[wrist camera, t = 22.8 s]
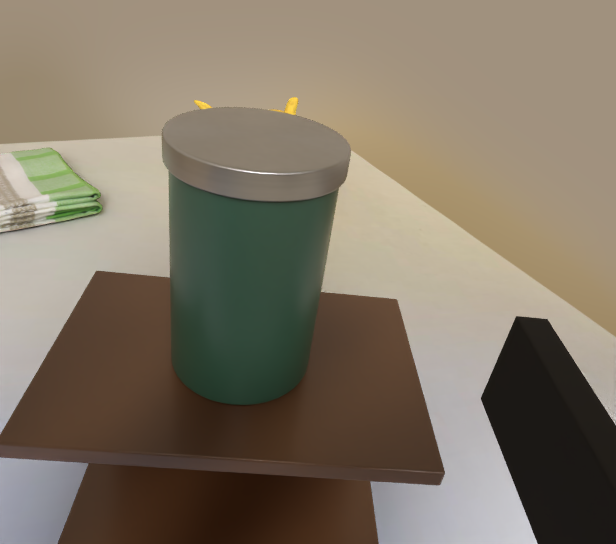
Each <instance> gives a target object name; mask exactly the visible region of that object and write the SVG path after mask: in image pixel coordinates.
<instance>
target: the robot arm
mask: <svg viewBox="0 0 616 544" xmlns="http://www.w3.org/2000/svg"><path fill="white" fill-rule="evenodd" d="M481 400H482V403H483V405H484V408H485V411H486V413H487V416H488V418H489V421H490V423H491V426H492V428H493V431H494V433H495V436H496V439H497V441H498V444H499V446H500V449H501V451H502V454H503V456H504V459H505V461H506V464H507V466H508V469H509V472H510V474H511V477H512V479H513V482H514V484H515V487H516V489H517V492H518V494H519V497H520V500H521V502H522V505H523V507H524V510H525V512H526V515H527V517H528V520H529V522H530V525H531V528H532V530H533V533H534V535H535V538H536V540H537V543H538V544H616V425H615V424H614V422H613V420H612V419H611V417H610V416H609V414H608V413H607V411H606V410H605V408H604V407H603V405H602V403H601V402H600V400H599V399H598V397H597V396H596V394H595V393H594V391H593V389H592V388H591V386H590V385H589V383H588V382H587V380H586V379H585V377H584V376H583V374H582V372H581V371H580V369H579V368H578V366H577V365H576V363H575V362H574V360H573V358H572V357H571V355H570V354H569V352H568V351H567V349H566V348H565V346H564V344H563V343H562V341H561V340H560V338H559V337H558V335H557V334H556V332H555V331H554V329H553V327H552V326H551V324H550V323H549V321H548V320H547V319H539V318H529V317H518V316H516V318H515V321H514V323H513V325H512V327H511V330H510V332H509V334H508V337H507V339H506V341H505V344H504V346H503V348H502V351H501V353H500V355H499V357H498V360H497V362H496V364H495V367H494V369H493V371H492V374H491V376H490V378H489V381H488V383H487V385H486V387H485V390H484V392H483V394H482V397H481Z"/></svg>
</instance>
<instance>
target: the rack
mask: <svg viewBox="0 0 616 544" xmlns="http://www.w3.org/2000/svg"><path fill="white" fill-rule="evenodd" d="M0 457H1V458H17V459H32V460H48V461H64V462H79V463H89V464H88V467H87V469H86V472H85V474H84V477H83V480H82V482H81V485H80V487H79V490H78V492H77V495H76V498H75V500H74V503H73V505H72V508H71V510H70V513H69V516H68V518H67V521H66V523H65V526H64V528H63V531H62V534H61V536H60V539H59V541H58V544H379V543H378V536H377V528H376V521H375V514H374V506H373V499H372V492H371V484H370V481H377V482H392V483H408V484H424V485H440V484H441V481H442V479H443V477H444V474H445V471H444V468H443V464H442V460H441V457H440V453H439V450H438V446H437V442H436V439H435V435H434V431H433V428H432V424H431V421H430V417H429V413H428V410H427V406H426V403H425V399H424V395H423V392H422V388H421V384H420V381H419V377H418V374H417V370H416V366H415V363H414V359H413V356H412V352H411V348H410V345H409V341H408V337H407V334H406V330H405V327H404V323H403V319H402V316H401V312H400V309H399V305H398V301H397V300H396V299H389V298H378V297H368V296H357V295H347V294H336V293H325V292H321V293H320V299H319V305H318V310H317V316H316V322H315V327H314V333H313V339H312V345H311V350H310V356H309V362H308V367H307V370H306V373H305V375H304V377H303V378H302V380H301V381H300V382H299V383H298V385H297V386H295V387H294V388H293V389H292V390H291V391H289V392H288V393H286V394H285V395H283V396H281V397H279V398H277V399H274V400H271V401H268V402H264V403H260V404H253V405H231V404H225V403H220V402H216V401H212V400H210V399H207V398H205V397H202V396H200V395H199V394H197V393H195V392H194V391H192V390H191V389H189V388H188V387H187V386H186V385H185V384H184V383H183V382H182V381H181V380H180V379H179V377H178V376H177V374H176V372H175V371H174V368H173V365H172V359H171V305H170V278H168V277H157V276H147V275H136V274H126V273H115V272H105V271H96V272H95V274H94V276H93V277H92V279H91V281H90V282H89V284H88V286H87V288H86V289H85V291H84V293H83V294H82V296H81V298H80V300H79V301H78V303H77V305H76V306H75V308H74V310H73V311H72V313H71V315H70V317H69V318H68V320H67V322H66V323H65V325H64V327H63V329H62V330H61V332H60V334H59V335H58V337H57V339H56V340H55V342H54V344H53V346H52V347H51V349H50V351H49V352H48V354H47V356H46V358H45V359H44V361H43V363H42V364H41V366H40V368H39V369H38V371H37V373H36V375H35V376H34V378H33V380H32V381H31V383H30V385H29V387H28V388H27V390H26V392H25V393H24V395H23V397H22V399H21V400H20V402H19V404H18V405H17V407H16V409H15V410H14V412H13V414H12V416H11V417H10V419H9V421H8V422H7V424H6V426H5V428H4V429H3V431H2V433H1V434H0Z"/></svg>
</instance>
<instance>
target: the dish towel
mask: <svg viewBox="0 0 616 544" xmlns="http://www.w3.org/2000/svg"><path fill="white" fill-rule="evenodd" d="M100 196H101V194H100V192H99V191H98V190H97V189H96V188H94V187H93V186H91V185H90V184H88V183H87V182H85V181H84V180H83V179H81V178H80V177H79V176H78V175H77V174H76V173H74V172H73V171H72V169H71V168H70V167H69V166H68V165H67V164H66V163H65V161H64V160H63V159H62V157H61V155H60V154H59V153H58V152H56V151H54V150H53V149H52V148H42V149H37V150H27V151H15V152H9V153H2V154H0V232H5V231H12V230H18V229H23V228H28V227H33V226H39V225H45V224H48V223H53V222H60V221H65V220H71V219H75V218H79V217H83V216H88V215H92V214H97V213H99V212H101V210H102V205H101V204H100V203H99V202H97V201H96V199H98V198H100Z"/></svg>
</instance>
